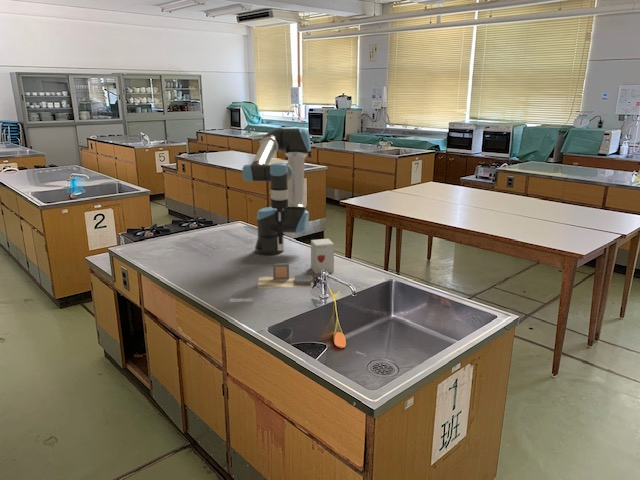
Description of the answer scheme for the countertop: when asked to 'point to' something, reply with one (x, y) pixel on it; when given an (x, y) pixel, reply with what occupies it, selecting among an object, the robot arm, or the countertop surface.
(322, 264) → the supplement box
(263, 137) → the robot arm
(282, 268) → the tile
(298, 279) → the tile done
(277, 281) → the board
